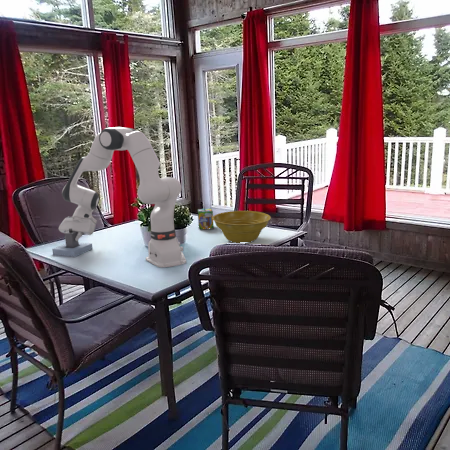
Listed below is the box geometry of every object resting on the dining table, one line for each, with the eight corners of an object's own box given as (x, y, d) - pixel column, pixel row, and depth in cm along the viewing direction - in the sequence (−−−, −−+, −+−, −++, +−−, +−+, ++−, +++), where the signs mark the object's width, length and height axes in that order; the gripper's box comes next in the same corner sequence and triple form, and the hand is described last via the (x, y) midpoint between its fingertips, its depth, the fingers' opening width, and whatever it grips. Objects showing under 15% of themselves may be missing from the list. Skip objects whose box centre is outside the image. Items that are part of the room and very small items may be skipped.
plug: (79, 247, 219) (76, 227, 217) (73, 250, 215) (70, 229, 213) (72, 247, 221) (69, 227, 218) (66, 249, 217) (64, 229, 214)
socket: (92, 248, 222) (91, 243, 222) (74, 256, 210) (74, 251, 209) (71, 246, 227) (70, 241, 227) (52, 254, 215) (52, 248, 214)
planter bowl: (282, 243, 224) (282, 218, 221) (229, 252, 210) (228, 226, 207) (252, 230, 252) (252, 208, 249) (203, 237, 238) (203, 214, 235)
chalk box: (213, 229, 256) (212, 205, 253) (198, 230, 255) (197, 206, 252) (212, 225, 265) (211, 202, 262) (198, 226, 264) (197, 203, 261)
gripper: (62, 213, 224) (51, 235, 217) (93, 215, 217) (83, 238, 210) (68, 219, 229) (58, 241, 222) (99, 221, 222) (90, 244, 215)
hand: (70, 240), depth 216 cm, fingers closed on plug, 4 cm apart
